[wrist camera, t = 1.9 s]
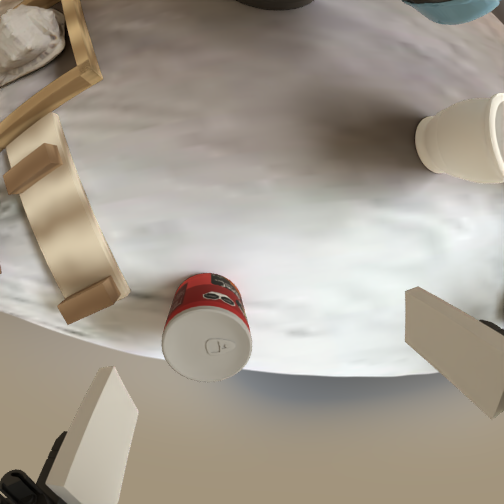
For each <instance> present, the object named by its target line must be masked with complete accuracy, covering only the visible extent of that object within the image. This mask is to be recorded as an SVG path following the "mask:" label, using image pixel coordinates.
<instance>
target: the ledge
mask: <svg viewBox="0 0 504 504" xmlns="http://www.w3.org/2000/svg"><path fill="white" fill-rule="evenodd" d="M6 151H7V155H8V158H9V162H10V166H11V169H10V170H9V171H8V172H6V173H5V174H4V175H3V178H4V182H5V185H6V188H7V191H8V195H11V194H19V195H20V198H21V201H22V203H23V206H24V209H25V212H26V214H27V217H28V220H29V222H30V225H31V227H32V230H33V232H34V235H35V237H36V239H37V242H38V244H39V246H40V249H41V251H42V253H43V255H44V258H45V260H46V262H47V264H48V266H49V268H50V270H51V272H52V274H53V276H54V278H55V280H56V282H57V284H58V286H59V288H60V290H61V292H62V294H63V296H64V298H65V299H64V300H63V301H62V302H61V303H60V304H59V305H58V306H57V307H58V309H59V310H60V312H61V314H62V316H63V317H64V319H65V321H66V323H67V324H68V325H69V324H71V323H73V322H76V321H78V320H80V319H82V318H84V317H87V316H89V315H91V314H93V313H95V312H98V311H100V310H102V309H104V308H107V307H109V306H111V305H113V304H114V303H115V302H116V301H118V300H120V299H123V298H125V297H127V296H128V294H129V293H130V291H131V290H130V288H129V286H128V284H127V282H126V280H125V278H124V277H123V275H122V273H121V271H120V269H119V267H118V265H117V263H116V261H115V259H114V257H113V255H112V252H111V250H110V248H109V246H108V244H107V242H106V240H105V238H104V235H103V233H102V231H101V229H100V227H99V224H98V222H97V220H96V218H95V215H94V213H93V211H92V208H91V206H90V203H89V201H88V199H87V196H86V194H85V191H84V189H83V186H82V184H81V181H80V178H79V176H78V173H77V170H76V168H75V165H74V162H73V159H72V156H71V154H70V151H69V148H68V145H67V142H66V139H65V136H64V133H63V129H62V126H61V123H60V119H59V116H58V115H57V114H55V113H52V112H50V113H48V114H47V115H45V116H44V117H43V118H41V119H40V120H39V121H37V122H36V123H35V124H33V125H32V126H31V127H29V128H28V129H27V130H26V131H24V132H23V133H22V134H21V135H19V136H18V137H17V138H16V139H14V140H13V141H12V142H11V143H10V144H9V145H7V146H6Z"/></svg>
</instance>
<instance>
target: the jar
mask: <svg viewBox="0 0 504 504" xmlns="http://www.w3.org/2000/svg"><path fill="white" fill-rule="evenodd" d="M415 144H416V149H417V153H418V155H419V157H420V159H421V161H422V163H423V164H424V165H425V166H426V167H427V168H428V169H429V170H431V171H432V172H435V173H439V174H441V173H446V174H448V175H451V176H453V177H457V178H461V179H464V180H467V181H471V182H475V183H482V184H495V183H502V182H504V93H499V94H495V95H493V96H492V97H491V98H490V99H488V98H475V99H468V100H464V101H461V102H458V103H456V104H454V105H452V106H450V107H449V108H446V109H444V110H442V111H440V112H439V113H437V114H436V115H435V116H430V117H426V118H424V119H423V120H422V121H421V122H420V123H419V125H418V127H417V129H416V134H415Z"/></svg>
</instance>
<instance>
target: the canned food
mask: <svg viewBox="0 0 504 504" xmlns="http://www.w3.org/2000/svg"><path fill="white" fill-rule="evenodd" d="M162 352H163V355H164V357H165V359H166V361H167V362H168V364H169V365H170V366H171V367H172V369H174V370H175V371H176V372H177V373H179V374H180V375H182V376H184V377H186V378H188V379H191V380H195V381H200V382H215V381H221V380H224V379H227V378H229V377H231V376H233V375H235V374H236V373H238V372H239V371H240V370H242V368H243V367H244V366H245V365H246V364H247V362H248V360H249V358H250V355H251V352H252V338H251V333H250V329H249V325H248V321H247V317H246V314H245V310H244V306H243V302H242V299H241V295H240V293H239V291H238V289H237V287H236V286H235V285H234V284H233V283H232V282H231V281H230V280H228V279H227V278H225V277H223V276H220V275H218V274H212V273H203V274H198V275H195V276H192V277H190V278H189V279H187V280H185V281H184V282H183V283H182V284H181V285H180V287H179V288H178V290H177V292H176V294H175V297H174V300H173V303H172V306H171V309H170V312H169V315H168V318H167V321H166V324H165V327H164V331H163V336H162Z"/></svg>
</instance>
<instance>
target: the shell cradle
mask: <svg viewBox="0 0 504 504" xmlns="http://www.w3.org/2000/svg"><path fill="white" fill-rule="evenodd" d="M59 1H62V6H63V11H64V16H65V20H66V25H67V29H68V33H69V37H70V41H71V45H72V49H73V53H74V57H75V60H76V64H77V66H76V67H74V68H73V69H71V70H70V71H68V72H67V73H65V74H63V75H62V76H60V77H59V78H57V79H56V80H54V81H53V82H52V83H50V84H49V85H47V86H46V87H44V88H43V89H42V90H40V91H39V92H38V93H36V94H35V95H34V96H32V97H31V98H30V99H28V100H27V101H26V102H25V103H23V104H22V105H21V106H20V107H18V108H17V109H16V110H15V111H14V112H12V113H11V114H10V115H9V116H8V117H6V118H5V119H4V120H3V121H2V122H1V123H0V152H1V151H2V150H3V149H5V148H6V146H7V145H9V144H10V143H11V142H12V141H13V140H14V139H16V138H17V137H18V136H19V135H21V134H22V133H23V132H24V131H26V130H27V129H28V128H29V127H31V126H32V125H33V124H35V123H36V122H37V121H39V120H40V119H41V118H43V117H44V116H45V115H47V114H48V113H50V112H52V111H53V110H55V109H56V108H58V107H59V106H61V105H62V104H64V103H65V102H67V101H68V100H70V99H71V98H73V97H74V96H76V95H78V94H79V93H81V92H83V91H84V90H86V89H87V88H89V87H91V86H93V85H94V84H96V83H98V82H100V81H101V80H103V77H102V74H101V71H100V68H99V65H98V62H97V59H96V56H95V53H94V49H93V46H92V43H91V39H90V36H89V33H88V29H87V26H86V22H85V18H84V15H83V11H82V7H81V3H80V0H24V1H23V2H21V3H20V4H19V5H21V4H23V5H25V6H37V7H39V8H44V9H48V8H50V7H51V6H53V5H54V4H56V3H57V2H59ZM19 5H17V6H16V7H15V8H17V7H18V6H19ZM15 8H13V9H15Z"/></svg>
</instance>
